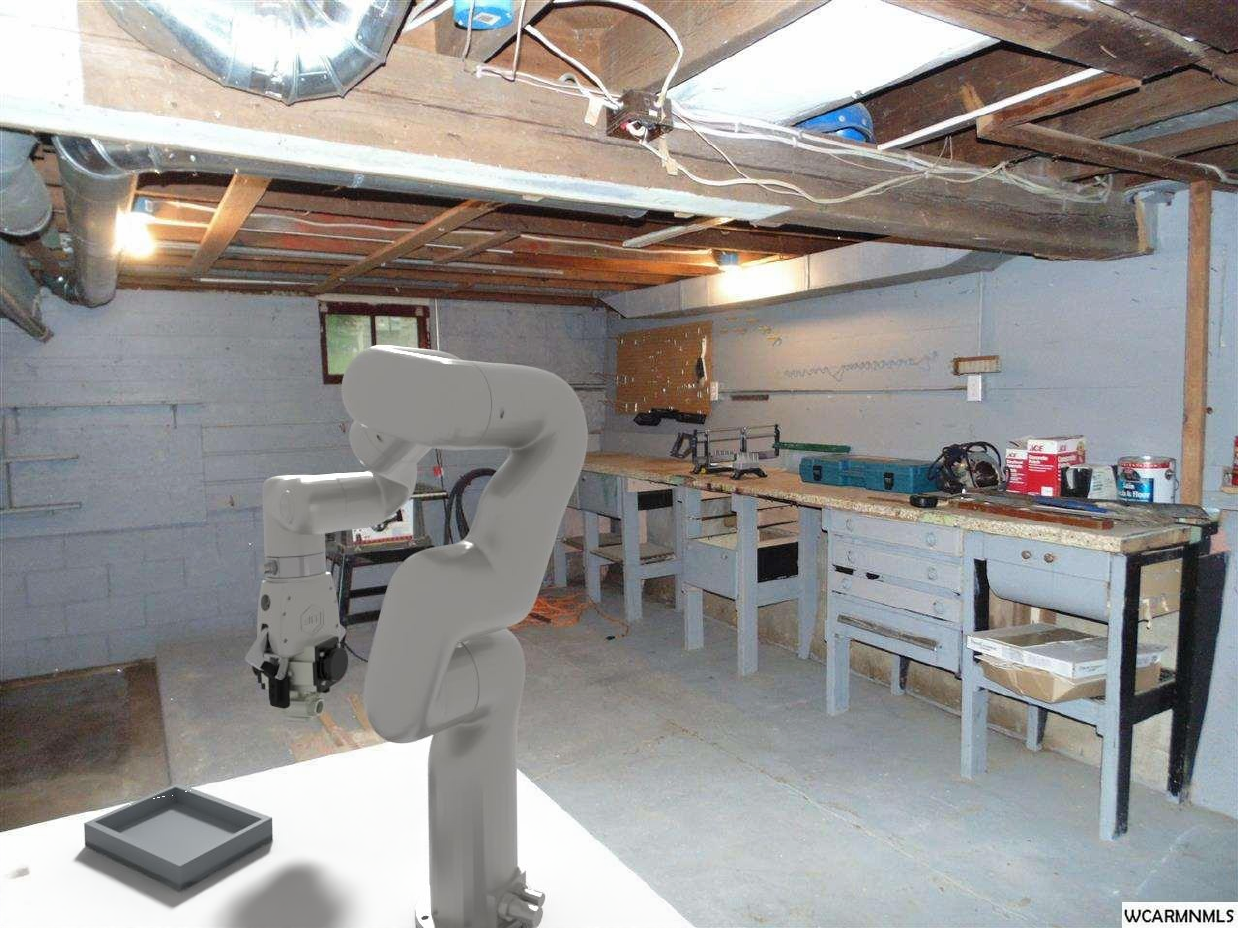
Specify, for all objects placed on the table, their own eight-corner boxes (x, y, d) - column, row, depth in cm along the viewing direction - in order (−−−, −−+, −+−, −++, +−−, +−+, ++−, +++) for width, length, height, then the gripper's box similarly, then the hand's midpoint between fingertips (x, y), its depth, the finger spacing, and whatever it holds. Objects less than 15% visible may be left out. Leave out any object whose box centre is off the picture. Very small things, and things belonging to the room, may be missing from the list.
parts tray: (272, 840, 96) (272, 817, 96) (180, 891, 85) (179, 866, 85) (178, 803, 105) (177, 783, 105) (85, 846, 94) (84, 822, 94)
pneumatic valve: (276, 709, 105) (271, 626, 104) (351, 714, 102) (347, 628, 102) (249, 725, 99) (244, 637, 99) (328, 730, 97) (324, 640, 96)
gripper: (257, 580, 91) (262, 725, 92) (365, 558, 106) (369, 683, 107) (218, 575, 94) (223, 715, 95) (328, 555, 110) (332, 676, 110)
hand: (300, 697), depth 101 cm, fingers closed on pneumatic valve, 5 cm apart
